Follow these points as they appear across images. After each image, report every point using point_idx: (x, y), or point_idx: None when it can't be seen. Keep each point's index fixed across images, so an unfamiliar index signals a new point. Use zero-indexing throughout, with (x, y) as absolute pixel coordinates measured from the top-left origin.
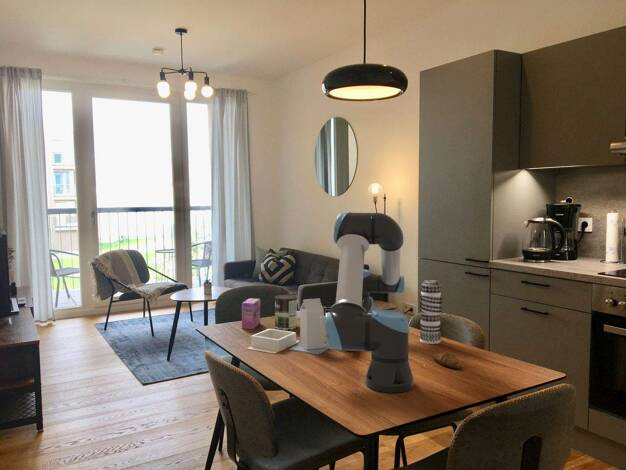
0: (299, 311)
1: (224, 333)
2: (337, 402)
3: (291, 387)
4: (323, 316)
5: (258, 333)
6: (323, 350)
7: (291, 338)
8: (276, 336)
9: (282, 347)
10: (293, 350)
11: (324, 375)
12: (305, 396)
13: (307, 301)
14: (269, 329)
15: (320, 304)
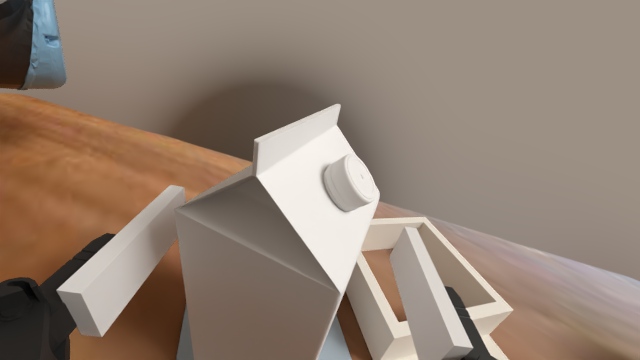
0: (411, 243)
1: (590, 291)
2: (57, 123)
3: (167, 139)
4: (161, 210)
5: (444, 241)
6: (181, 342)
7: (366, 303)
8: None
9: None
10: None
11: (108, 179)
12: (128, 127)
13: (323, 125)
14: (494, 298)
15: (227, 182)
